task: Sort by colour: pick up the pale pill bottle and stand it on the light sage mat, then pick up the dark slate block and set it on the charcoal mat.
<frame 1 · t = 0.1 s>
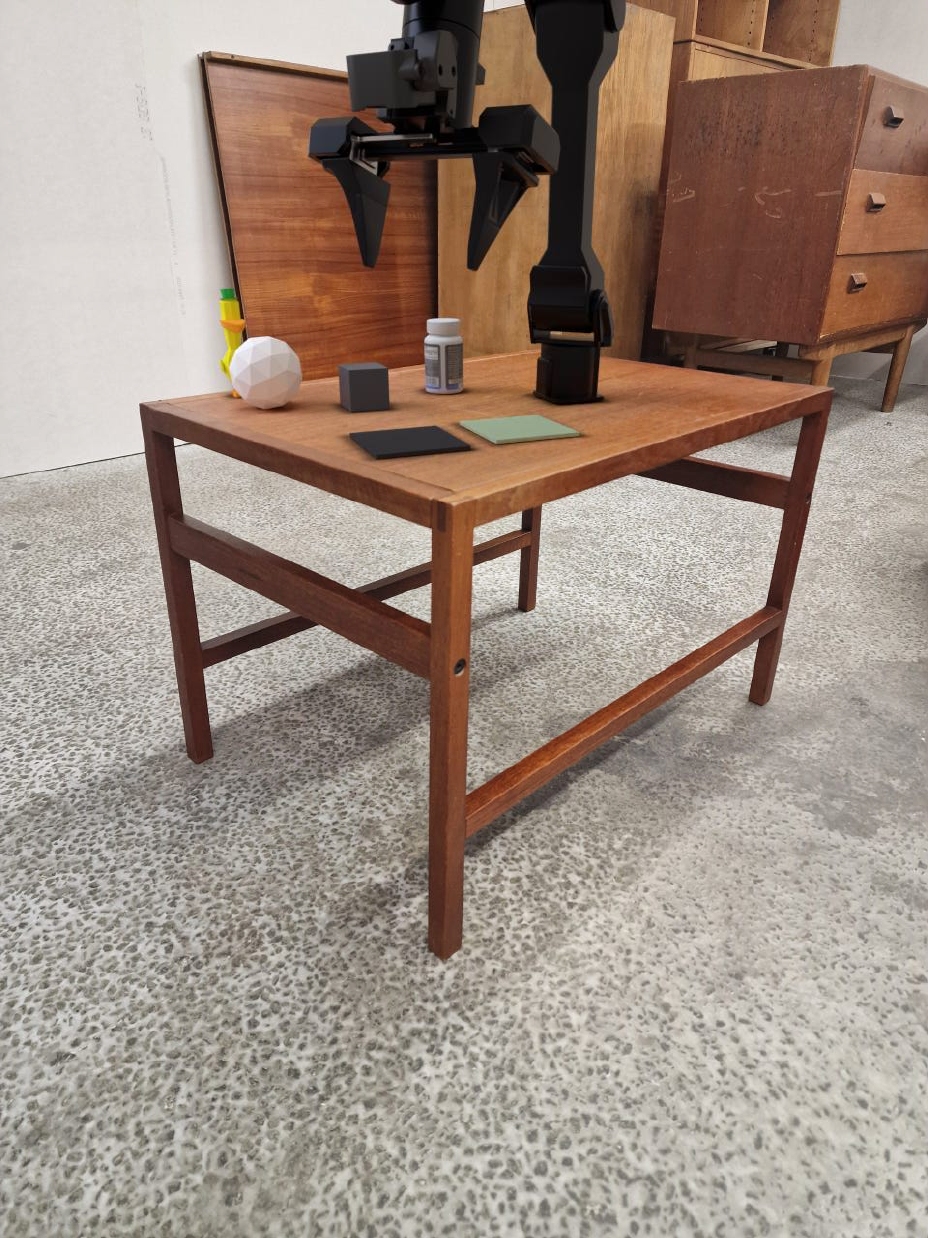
hand: (418, 268, 62), 15 cm above the table, tool pointing down, fingers open, 9 cm apart
sage mat: (517, 430, 81), on the table
pill bottle: (444, 392, 100), on the table
toy figure: (241, 397, 97), on the table
slate block: (364, 407, 91), on the table
charcoal mat: (408, 443, 76), on the table
geometric ball: (269, 408, 91), on the table
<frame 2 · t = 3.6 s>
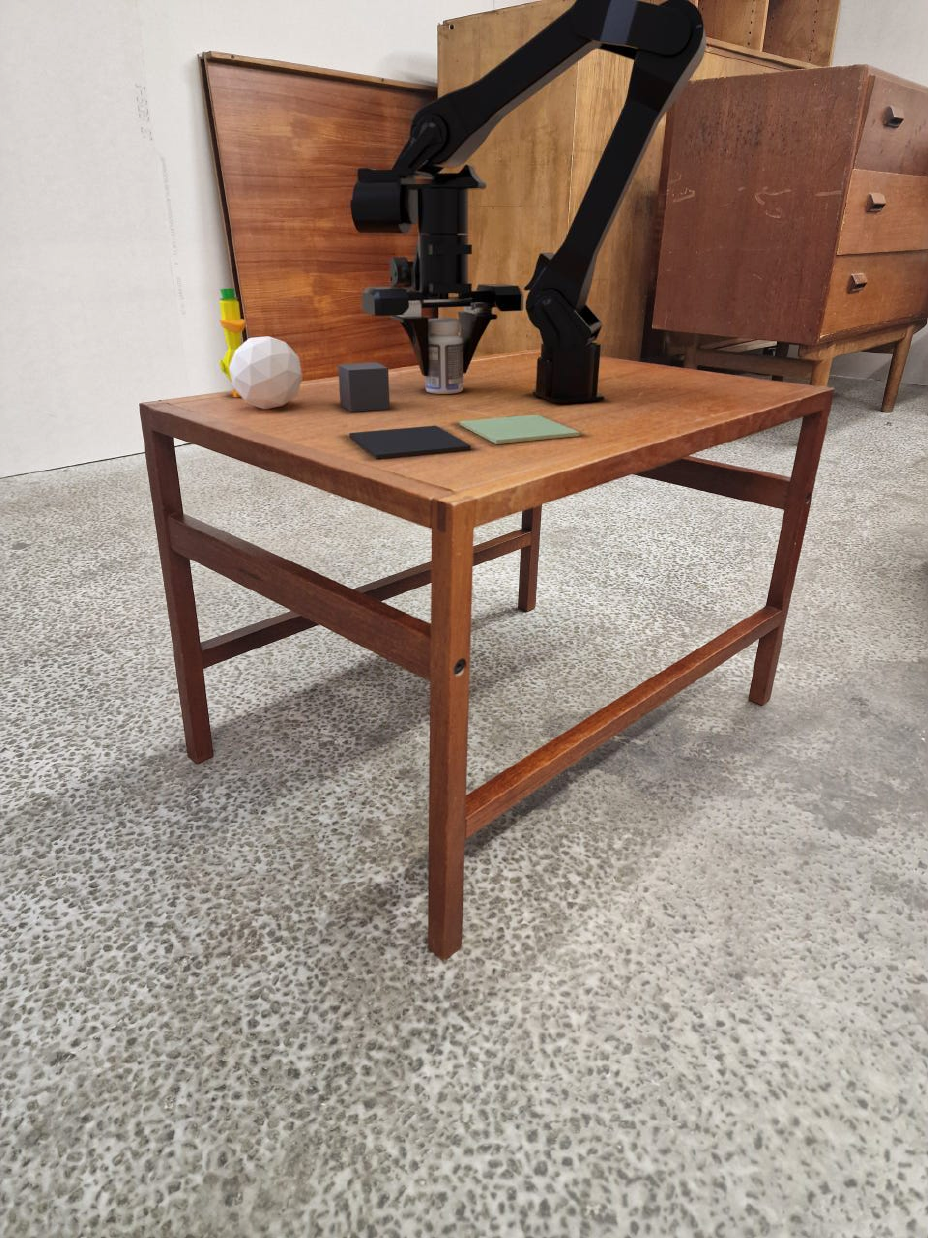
hand: (444, 374, 99), 2 cm above the table, tool pointing down, fingers closed on pill bottle, 5 cm apart
pill bottle: (444, 392, 100), on the table, touching gripper
everything else where it was.
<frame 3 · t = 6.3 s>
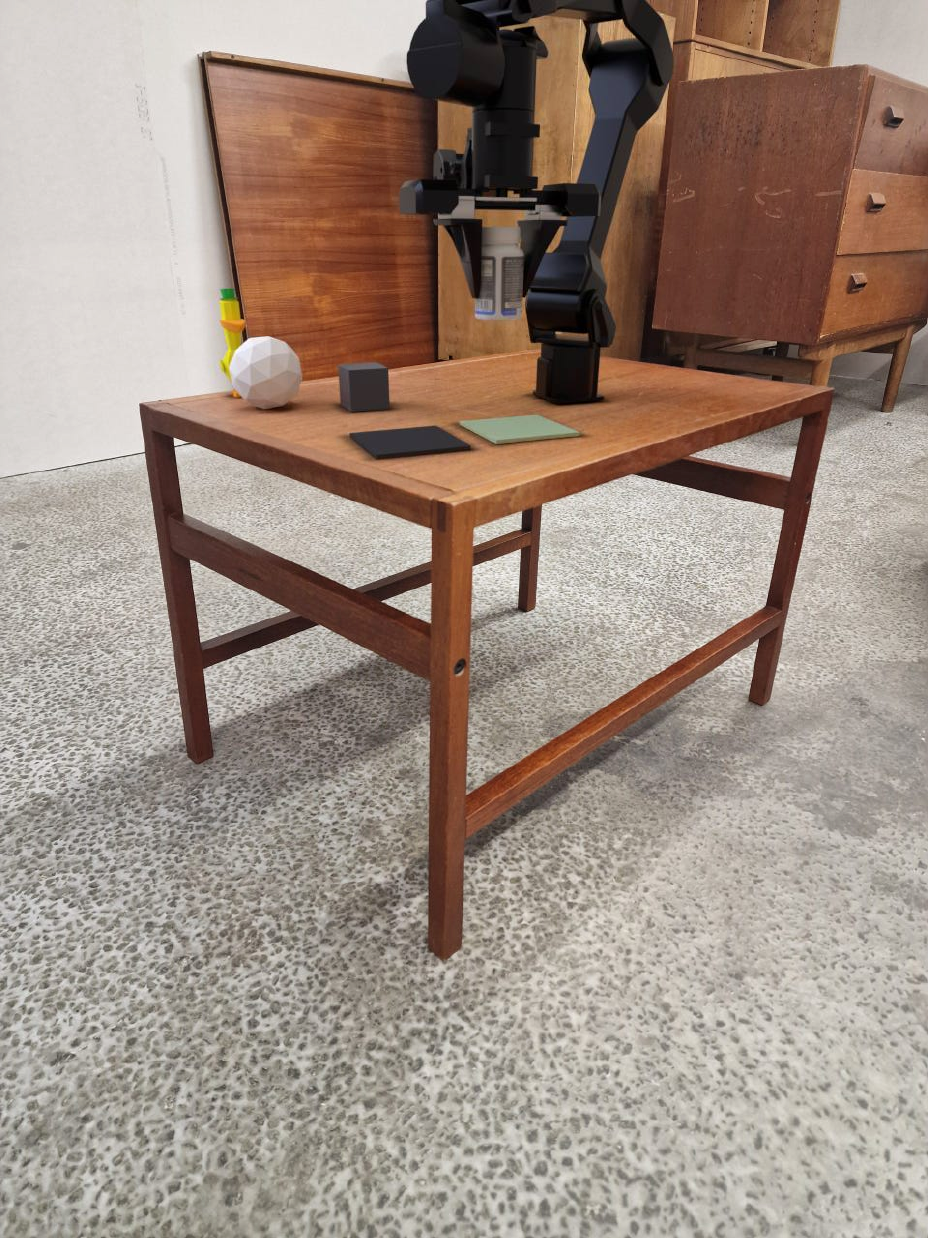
hand: (499, 297, 80), 12 cm above the table, tool pointing down, fingers closed on pill bottle, 5 cm apart
pill bottle: (498, 321, 81), point 10 cm above the table, touching gripper
everything else where it was.
when the fingers open (2 cm above the table, at t = 9.4 s): pill bottle stays where it is, resting on sage mat.
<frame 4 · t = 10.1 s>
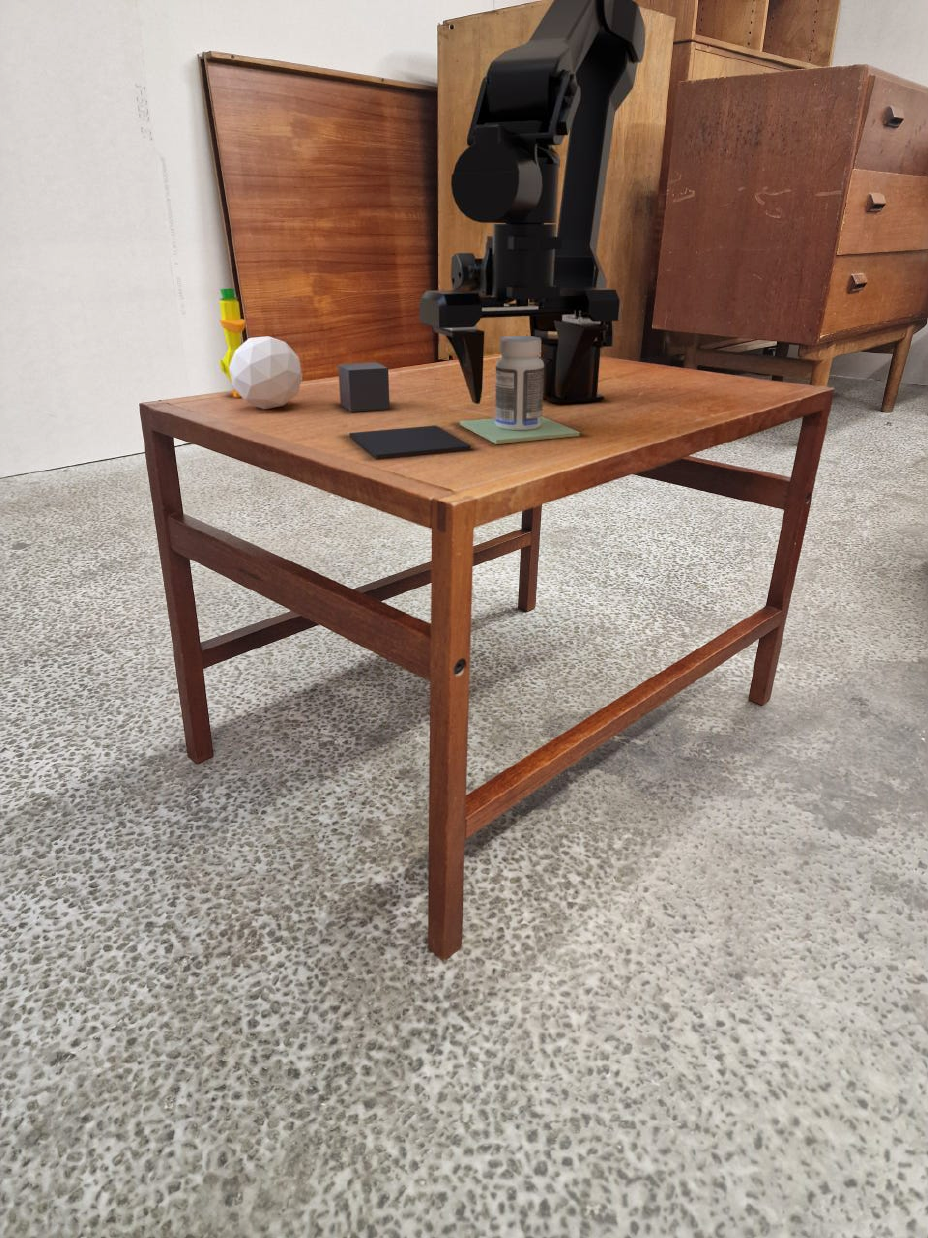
hand: (518, 399, 79), 3 cm above the table, tool pointing down, fingers open, 9 cm apart
pill bottle: (518, 427, 81), resting on sage mat
everything else where it was.
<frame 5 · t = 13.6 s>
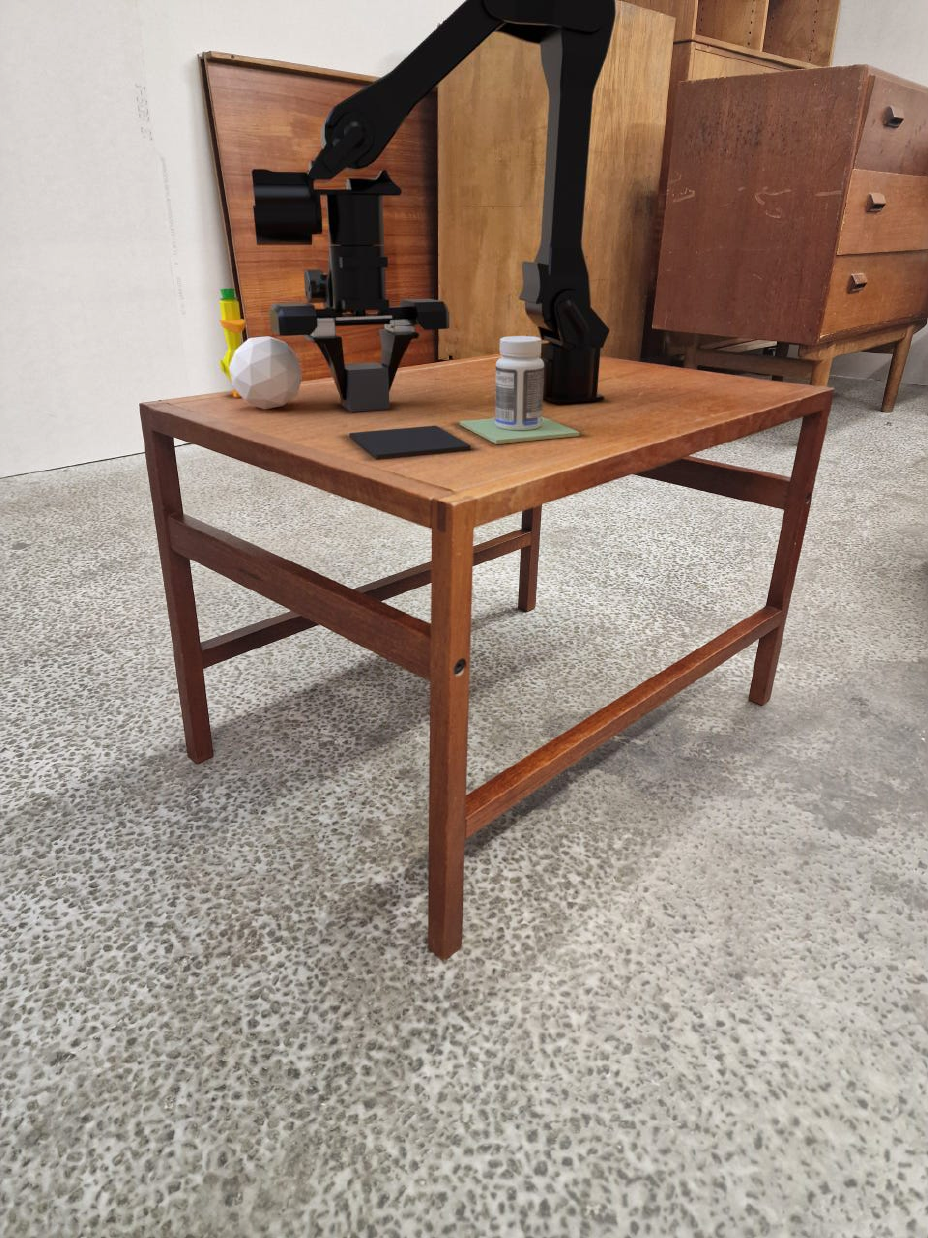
hand: (364, 397, 90), 1 cm above the table, tool pointing down, fingers closed on slate block, 4 cm apart
slate block: (364, 407, 91), on the table, touching gripper
everything else where it was.
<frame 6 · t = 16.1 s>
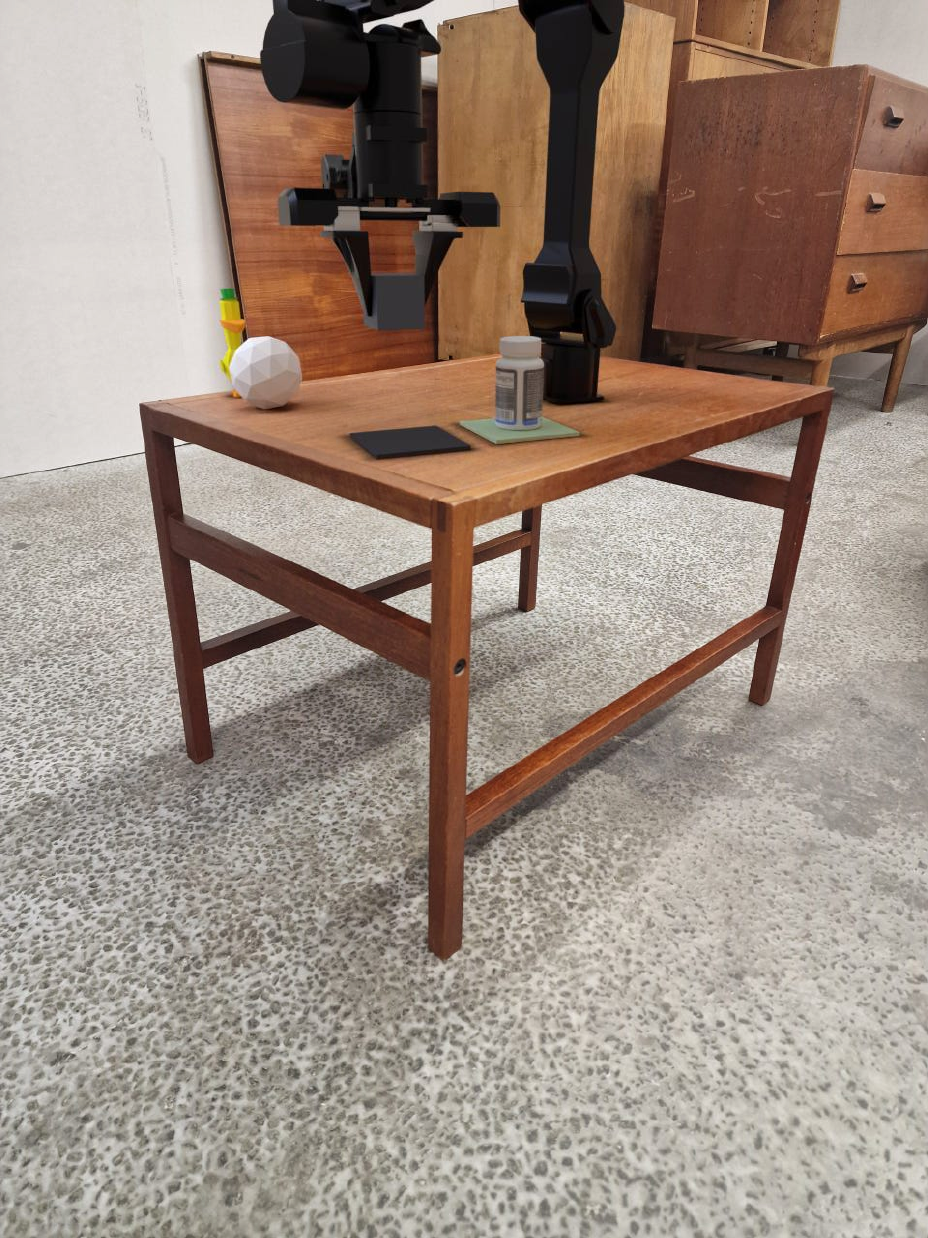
hand: (394, 315, 74), 11 cm above the table, tool pointing down, fingers closed on slate block, 4 cm apart
slate block: (394, 327, 74), point 10 cm above the table, touching gripper
everything else where it was.
when the fingers open (1 cm above the table, at t = 19.0 s): slate block stays where it is, resting on charcoal mat.
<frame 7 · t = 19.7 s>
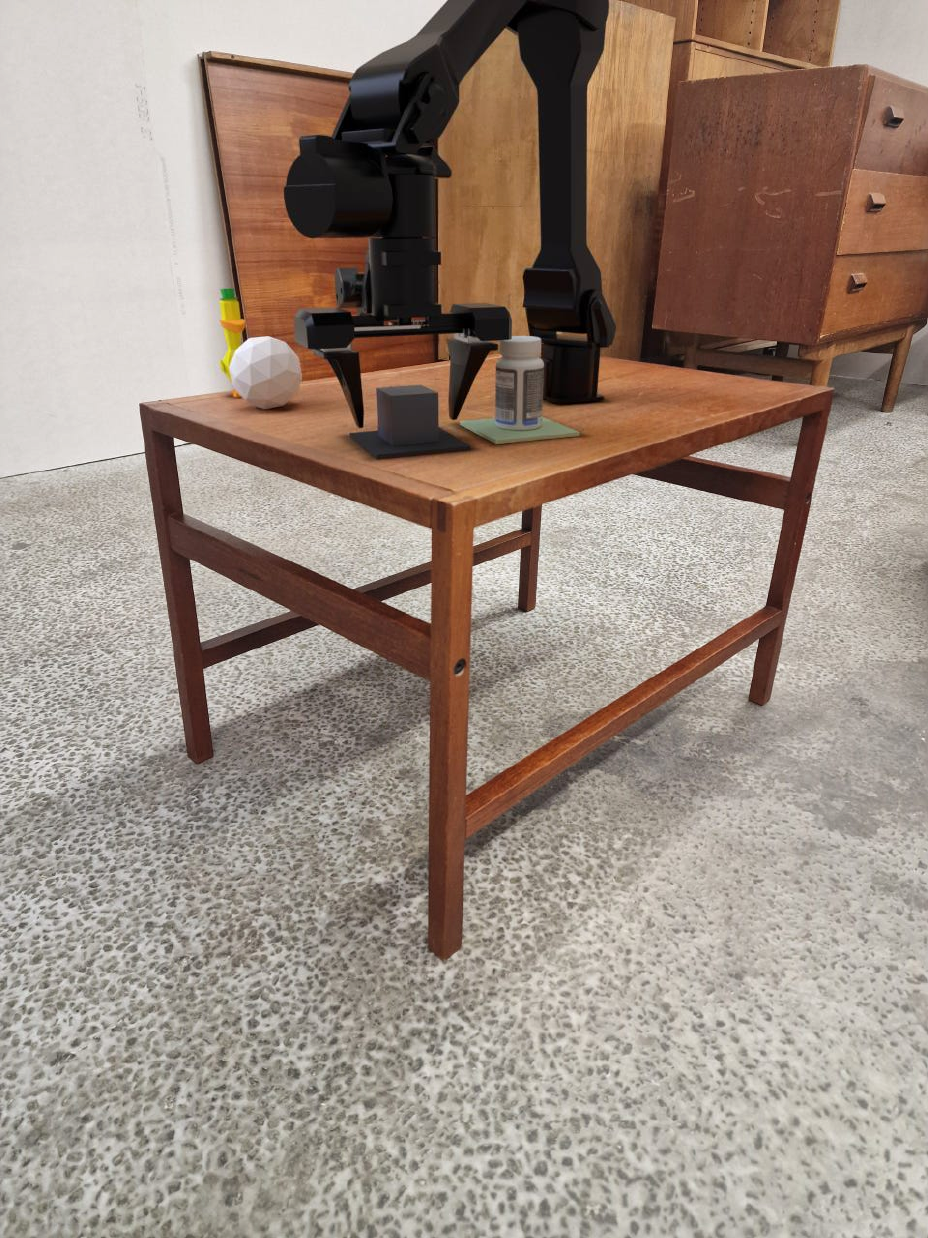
hand: (407, 423, 75), 2 cm above the table, tool pointing down, fingers open, 9 cm apart
slate block: (408, 438, 75), resting on charcoal mat
everything else where it was.
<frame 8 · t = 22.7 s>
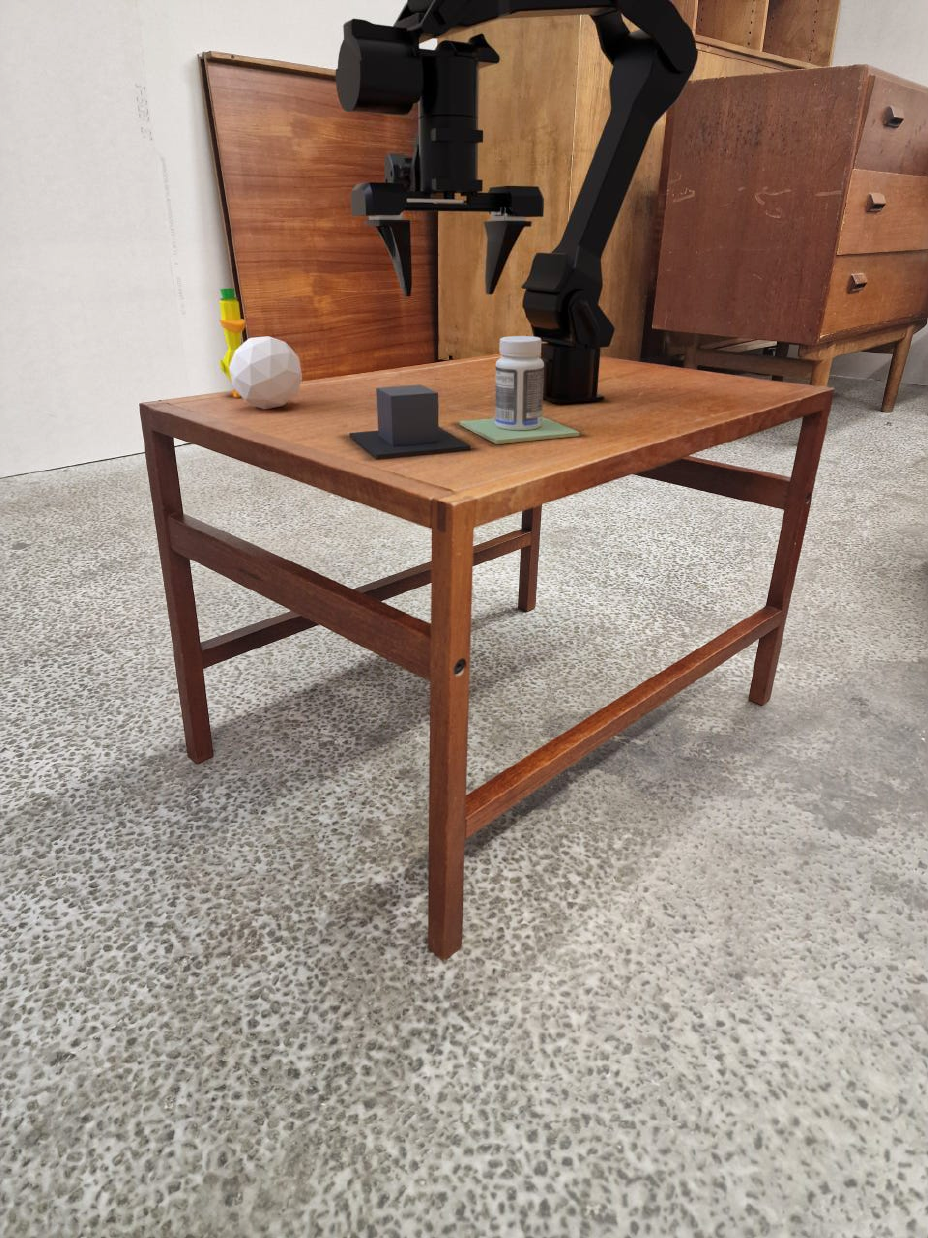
hand: (449, 295, 83), 12 cm above the table, tool pointing down, fingers open, 9 cm apart
nothing on the table moved.
at the end: pill bottle inside the target area on the sage mat (0.1 cm from its centre), point 0.2 cm above the sage mat's base; pill bottle tilted 0°; slate block inside the target area on the charcoal mat (0.1 cm from its centre), point 0.4 cm above the charcoal mat's base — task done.
